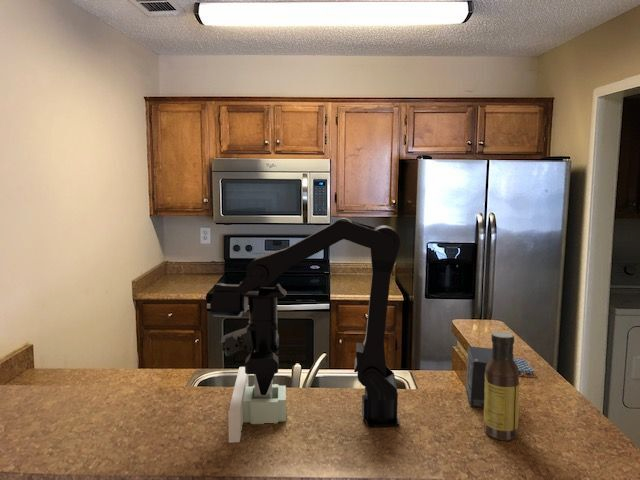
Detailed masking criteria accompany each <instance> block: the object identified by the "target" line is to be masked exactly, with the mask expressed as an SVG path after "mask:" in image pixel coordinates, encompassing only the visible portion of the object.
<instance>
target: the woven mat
mask: <svg viewBox="0 0 640 480" xmlns="http://www.w3.org/2000/svg"><path fill="white" fill-rule="evenodd" d="M513 360H514V362H515V363H516V365H517V367H518V369H519V377H525V378H526V377H528V378H536V377H537V376H536V375H535V374H536V371H535V370H534V368H533V367H531V365H530V364H529V362H527V360H526V359H525V358H521V357H518V358H517V357H515V356H513Z"/></svg>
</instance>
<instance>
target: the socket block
mask: <svg viewBox="0 0 640 480" xmlns="http://www.w3.org/2000/svg"><path fill="white" fill-rule="evenodd" d="M286 387H287V385H279V384H278V383H277V384H276V383H274V384H273V396H272V399H255V395H254V384H253V386H249V385H248V387H246V388H245V393H244V398H243V423H250V425H265V424H264V423H274V424H279V422H286V421H287V420H286V419H287V413H286V412H287V409H286V408H287V401H286V400H287V391H286V390H287V388H286Z"/></svg>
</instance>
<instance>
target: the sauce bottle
mask: <svg viewBox="0 0 640 480" xmlns="http://www.w3.org/2000/svg"><path fill="white" fill-rule="evenodd" d="M491 342H492V344H491V345H492V347H491V348H492V358H491V359H490V360H489V362H488V363H487V364H486V369H485V386H484V408H483V423H484V424H483V429H484V431H485V433H486V434H487V435H488V436H489V437H492V438H493V439H497V440H500V441H511V440H514V439H515V438H516V437H517V434H518V428H519V407H520V406H519V405H520V376H519V369H518V367H517V365H516V363H515V362H514V360H513V357H515V356H514V344H515V334H513V333H511V332H508V331H503V330H502V331H494V332H491Z"/></svg>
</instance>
